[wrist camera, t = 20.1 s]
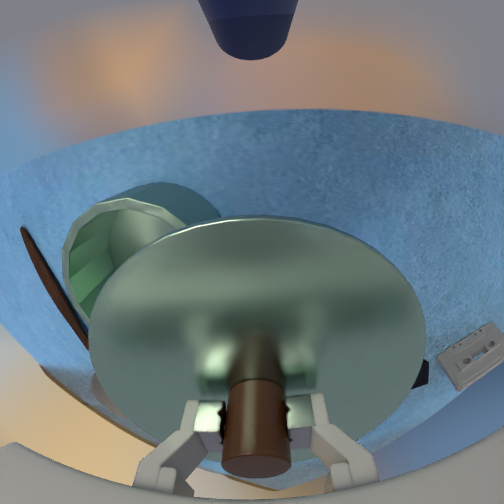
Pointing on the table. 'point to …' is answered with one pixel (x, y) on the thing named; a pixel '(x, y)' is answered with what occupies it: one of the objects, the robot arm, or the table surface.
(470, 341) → the cassette
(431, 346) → the table surface
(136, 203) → the tin
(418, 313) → the lid
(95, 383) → the spoon
